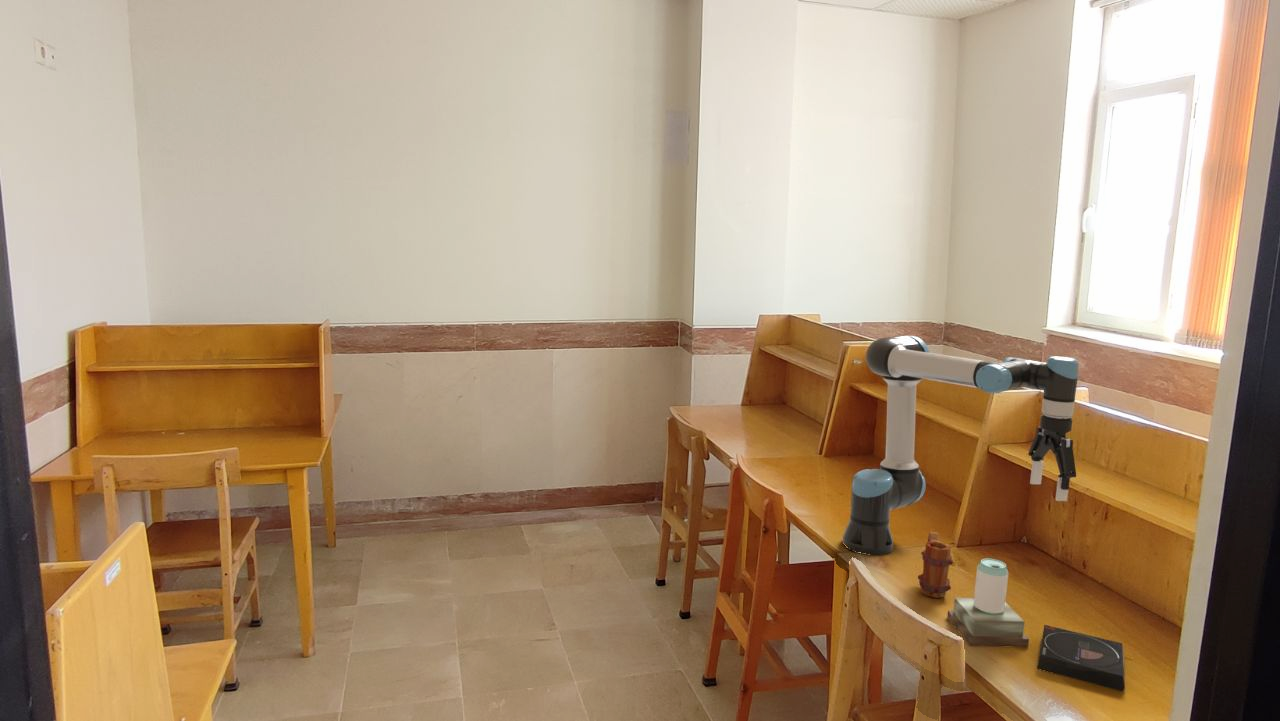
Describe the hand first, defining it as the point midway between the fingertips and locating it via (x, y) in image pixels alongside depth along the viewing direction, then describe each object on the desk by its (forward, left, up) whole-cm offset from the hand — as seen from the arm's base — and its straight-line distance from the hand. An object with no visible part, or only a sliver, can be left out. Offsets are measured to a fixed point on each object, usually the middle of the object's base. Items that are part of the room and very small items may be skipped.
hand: (1047, 492), depth 221 cm
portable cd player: (+37, -8, -29) cm, 48 cm away
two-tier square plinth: (+23, -24, -29) cm, 44 cm away
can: (+23, -24, -23) cm, 40 cm away
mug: (0, -29, -29) cm, 41 cm away
